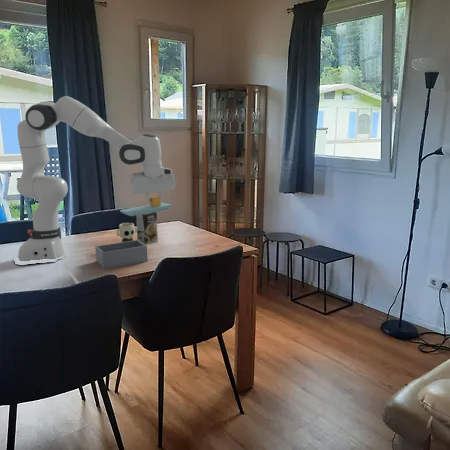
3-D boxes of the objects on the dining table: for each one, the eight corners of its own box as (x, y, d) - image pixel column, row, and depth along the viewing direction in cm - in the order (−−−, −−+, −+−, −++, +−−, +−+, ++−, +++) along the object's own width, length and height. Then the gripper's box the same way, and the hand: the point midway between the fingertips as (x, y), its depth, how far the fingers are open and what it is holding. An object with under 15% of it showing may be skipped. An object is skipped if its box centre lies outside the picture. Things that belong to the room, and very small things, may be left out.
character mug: (121, 253, 215) (119, 227, 212) (114, 250, 221) (113, 224, 218) (141, 249, 222) (139, 224, 219) (134, 246, 227) (133, 221, 224)
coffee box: (145, 245, 228) (144, 215, 224) (137, 243, 232) (135, 213, 228) (158, 241, 235) (157, 212, 232) (150, 239, 239) (148, 210, 235)
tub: (103, 270, 191) (102, 252, 189) (96, 263, 201) (95, 246, 199) (147, 262, 201) (146, 245, 199) (138, 256, 211) (137, 239, 209)
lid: (128, 217, 190) (126, 203, 189) (120, 214, 201) (118, 201, 200) (172, 209, 200) (170, 195, 199) (162, 206, 210) (161, 194, 209)
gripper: (132, 174, 191) (134, 205, 195) (176, 169, 200) (177, 199, 204) (127, 172, 196) (130, 202, 200) (170, 168, 206) (172, 197, 209)
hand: (154, 201), depth 202 cm, fingers closed on lid, 3 cm apart
